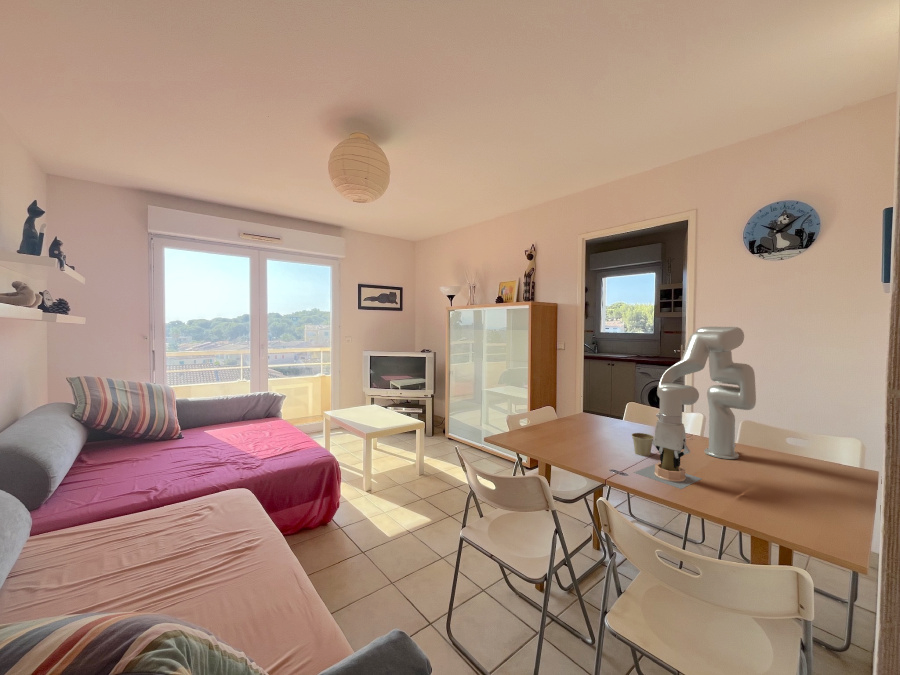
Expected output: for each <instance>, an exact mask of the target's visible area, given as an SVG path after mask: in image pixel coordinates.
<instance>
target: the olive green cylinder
mask: <svg viewBox="0 0 900 675" xmlns="http://www.w3.org/2000/svg"><path fill="white" fill-rule="evenodd" d="M663 450H664V454H663V461H662V466H661V468H662V469H665V470H668V471H679V469H678V466H677V468H674V462H673V458H675V454H674V450H670V449H667V448H663Z"/></svg>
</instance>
